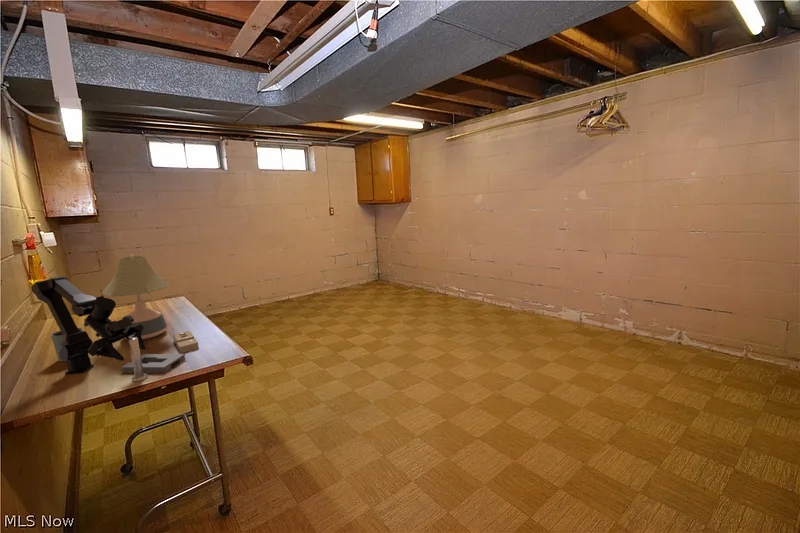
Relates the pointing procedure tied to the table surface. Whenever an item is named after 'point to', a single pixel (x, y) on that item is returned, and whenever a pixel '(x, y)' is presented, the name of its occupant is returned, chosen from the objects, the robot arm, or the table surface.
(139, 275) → the desk lamp
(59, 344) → the drinking glass
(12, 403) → the table surface
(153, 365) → the keyhole plate
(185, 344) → the electrical outlet
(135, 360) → the steel post
